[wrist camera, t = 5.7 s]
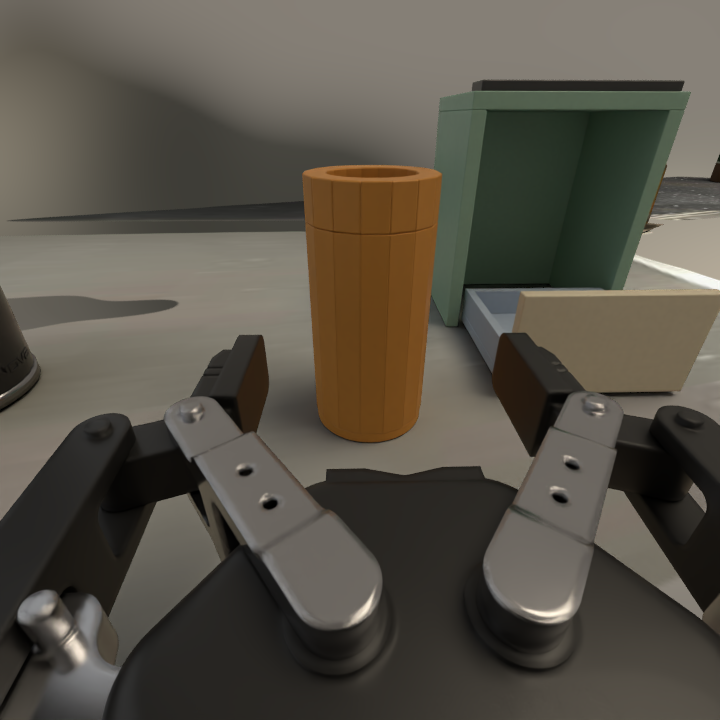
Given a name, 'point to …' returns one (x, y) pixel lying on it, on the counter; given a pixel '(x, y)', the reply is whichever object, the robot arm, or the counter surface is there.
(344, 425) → the jar
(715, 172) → the beer bottle
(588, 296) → the beige drawer
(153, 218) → the counter surface
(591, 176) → the green open box
